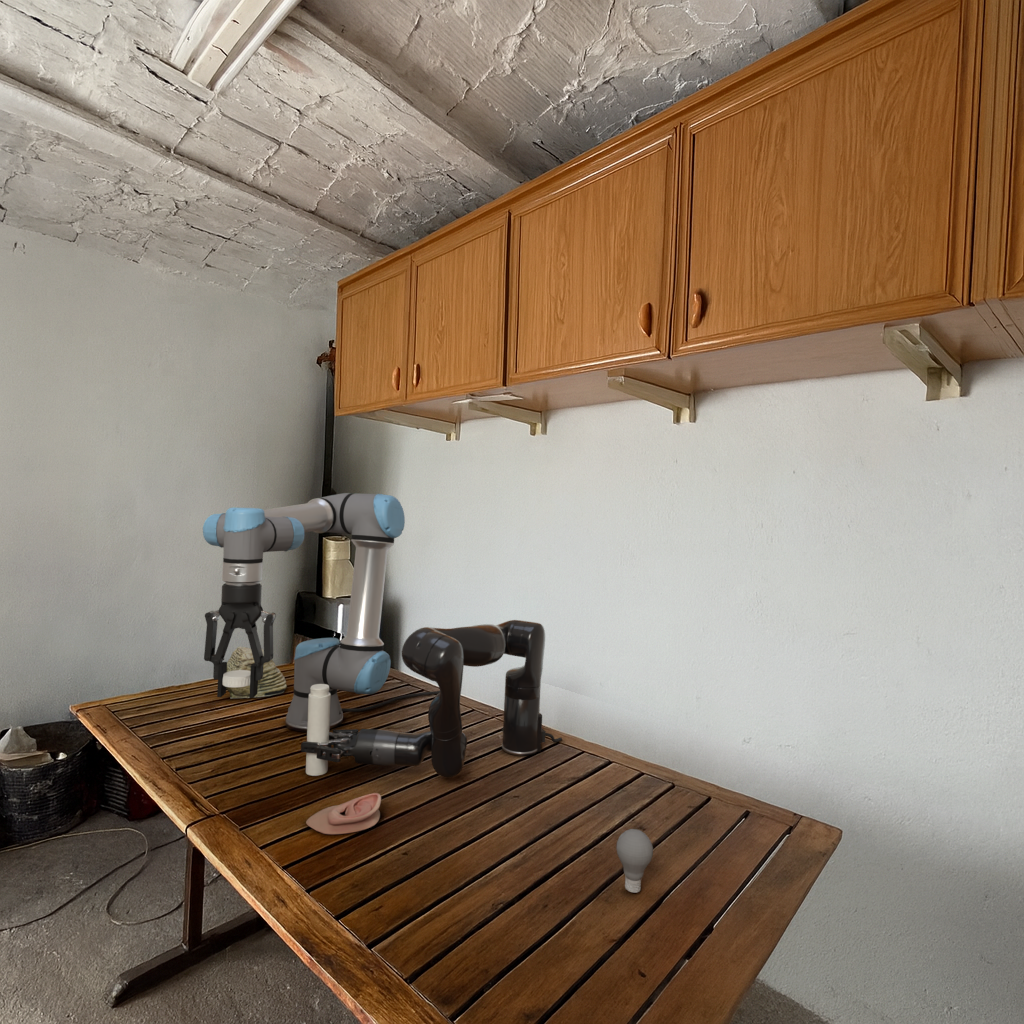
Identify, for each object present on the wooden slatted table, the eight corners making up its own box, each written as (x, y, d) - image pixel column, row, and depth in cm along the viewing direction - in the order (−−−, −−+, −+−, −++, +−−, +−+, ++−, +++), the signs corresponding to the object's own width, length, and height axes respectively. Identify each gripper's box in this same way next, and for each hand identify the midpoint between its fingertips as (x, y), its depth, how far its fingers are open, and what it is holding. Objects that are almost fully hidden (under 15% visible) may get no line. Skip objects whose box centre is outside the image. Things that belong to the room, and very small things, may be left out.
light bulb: (610, 879, 108) (613, 822, 108) (644, 879, 109) (647, 822, 109) (619, 902, 102) (622, 840, 102) (655, 901, 103) (658, 840, 103)
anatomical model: (298, 809, 120) (327, 783, 131) (297, 830, 120) (327, 802, 131) (363, 819, 117) (388, 791, 128) (362, 840, 117) (387, 811, 128)
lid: (254, 686, 129) (255, 676, 129) (223, 689, 126) (224, 678, 126) (251, 678, 134) (251, 668, 134) (221, 681, 131) (221, 671, 131)
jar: (303, 775, 143) (306, 689, 143) (308, 766, 148) (311, 683, 148) (325, 775, 144) (328, 689, 143) (329, 766, 149) (332, 683, 148)
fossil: (218, 695, 195) (220, 647, 195) (278, 685, 208) (279, 640, 207) (228, 703, 189) (230, 653, 188) (289, 692, 201) (290, 645, 201)
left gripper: (187, 583, 125) (182, 700, 125) (283, 586, 127) (278, 702, 127) (202, 579, 133) (197, 689, 133) (293, 582, 134) (288, 690, 135)
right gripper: (387, 720, 152) (318, 715, 153) (370, 742, 138) (294, 737, 139) (386, 751, 152) (317, 746, 153) (368, 777, 138) (292, 771, 139)
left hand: (237, 695), depth 130 cm, fingers closed on lid, 6 cm apart
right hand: (306, 742), depth 146 cm, fingers closed on jar, 5 cm apart
